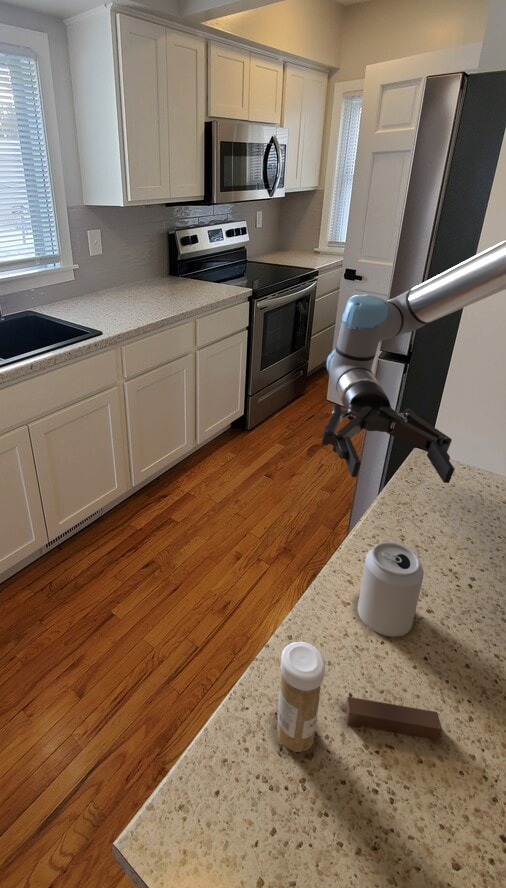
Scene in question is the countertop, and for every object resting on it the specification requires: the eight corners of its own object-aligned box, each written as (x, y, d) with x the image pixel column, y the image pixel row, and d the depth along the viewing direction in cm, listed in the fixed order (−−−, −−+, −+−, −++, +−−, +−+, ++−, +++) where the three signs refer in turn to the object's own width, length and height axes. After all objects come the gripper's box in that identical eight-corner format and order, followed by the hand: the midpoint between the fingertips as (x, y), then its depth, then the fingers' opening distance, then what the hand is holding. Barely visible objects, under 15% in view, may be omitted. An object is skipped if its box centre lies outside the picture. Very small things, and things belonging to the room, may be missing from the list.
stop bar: (432, 728, 57) (437, 711, 56) (437, 746, 56) (442, 729, 54) (344, 712, 59) (347, 696, 58) (346, 729, 58) (349, 713, 56)
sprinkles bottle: (319, 757, 55) (331, 677, 49) (279, 759, 55) (287, 680, 49) (308, 715, 59) (318, 638, 54) (271, 718, 59) (277, 640, 53)
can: (413, 647, 67) (429, 582, 62) (356, 633, 69) (367, 569, 64) (409, 605, 73) (422, 543, 69) (356, 593, 76) (366, 532, 71)
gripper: (424, 419, 91) (479, 497, 73) (292, 410, 92) (313, 486, 74) (437, 384, 88) (497, 458, 69) (298, 376, 88) (322, 447, 70)
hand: (402, 473), depth 71 cm, fingers open, 13 cm apart
